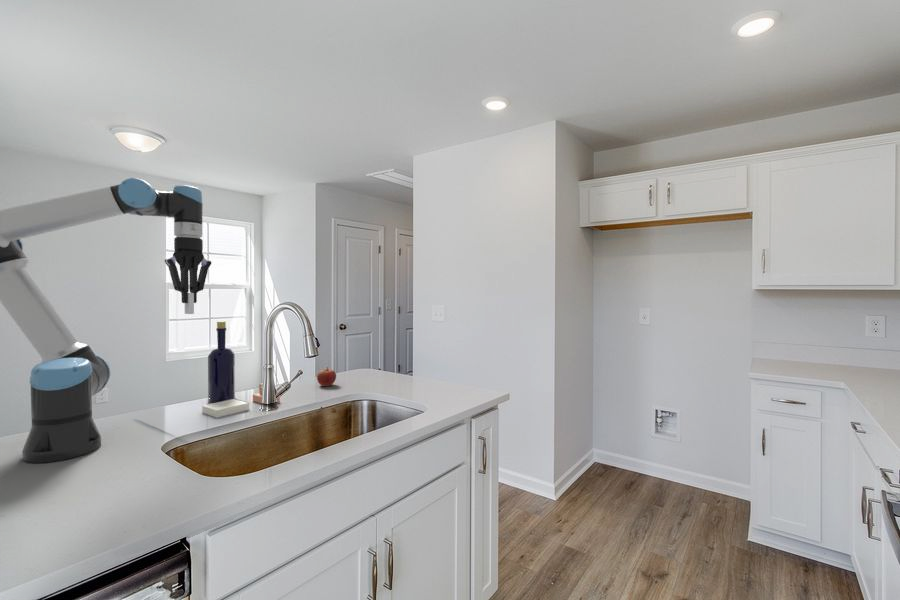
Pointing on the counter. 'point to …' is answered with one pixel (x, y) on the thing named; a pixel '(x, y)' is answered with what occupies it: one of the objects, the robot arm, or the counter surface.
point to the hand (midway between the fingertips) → (189, 313)
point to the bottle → (221, 369)
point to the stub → (259, 396)
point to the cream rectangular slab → (225, 407)
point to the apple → (326, 377)
